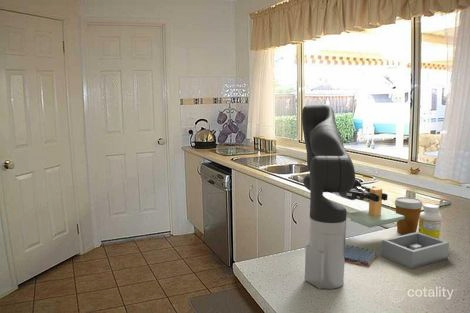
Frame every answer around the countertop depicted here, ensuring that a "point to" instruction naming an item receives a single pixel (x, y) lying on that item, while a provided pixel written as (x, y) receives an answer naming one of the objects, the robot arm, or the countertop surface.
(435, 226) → the supplement bottle
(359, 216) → the lid
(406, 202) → the disposable coffee cup
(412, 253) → the parts tub
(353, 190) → the robot arm
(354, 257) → the woven mat
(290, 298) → the countertop surface
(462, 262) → the countertop surface
